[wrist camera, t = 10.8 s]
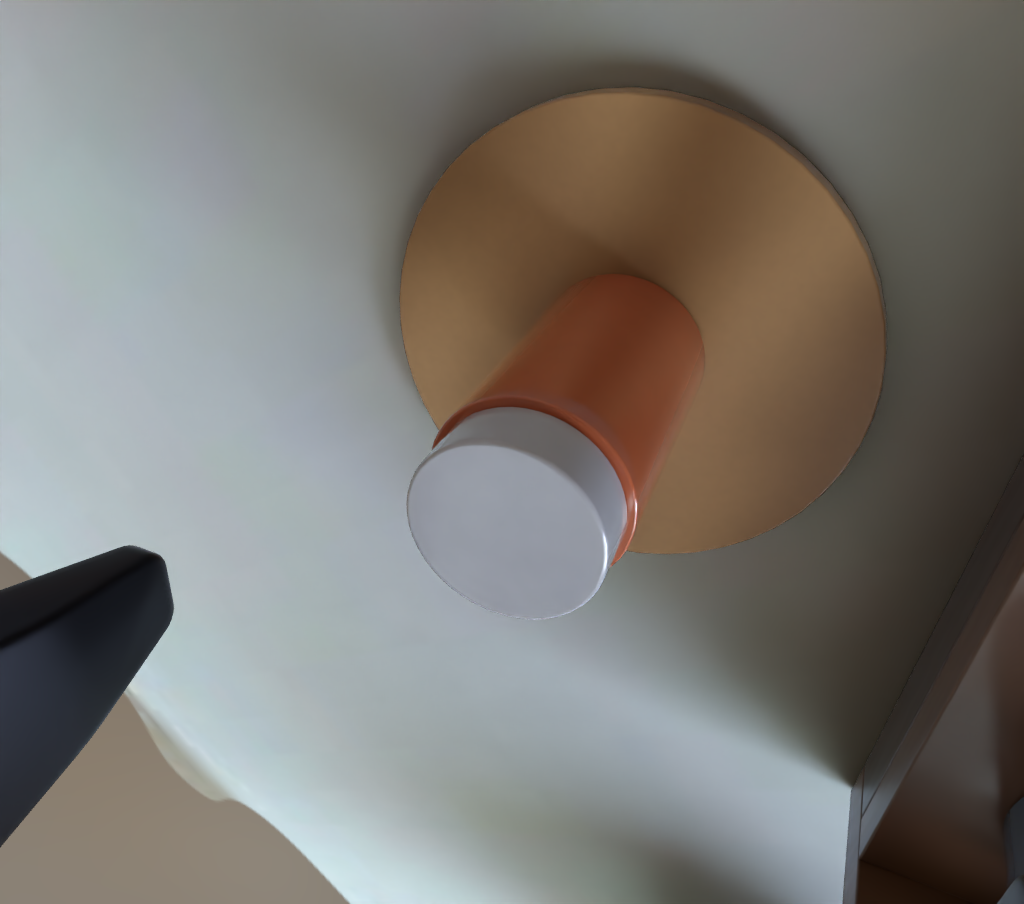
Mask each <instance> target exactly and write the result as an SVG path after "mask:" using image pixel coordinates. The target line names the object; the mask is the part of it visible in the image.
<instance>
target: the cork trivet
mask: <svg viewBox="0 0 1024 904" xmlns="http://www.w3.org/2000/svg"><path fill="white" fill-rule="evenodd" d="M605 274H623V275H629V276H635V277H638V278H641V279H645V280H647V281H649V282H652V283H654V284H656V285H658V286H659V287H661V288H663V289H664V290H666V291H667V292H669V293H670V294H671V295H673V296H674V297H675V298H676V299H677V300H678V301H679V302H680V303H681V304H682V305H683V306H684V307H685V308H686V310H687V311H688V312H689V314H690V315H691V316H692V318H693V320H694V322H695V323H696V325H697V327H698V330H699V332H700V334H701V337H702V341H703V345H704V351H705V371H704V377H703V380H702V384H701V387H700V389H699V391H698V394H697V396H696V398H695V400H694V403H693V405H692V407H691V409H690V412H689V414H688V416H687V418H686V421H685V423H684V425H683V427H682V430H681V432H680V434H679V436H678V439H677V441H676V443H675V445H674V448H673V450H672V452H671V454H670V457H669V459H668V461H667V463H666V466H665V468H664V470H663V472H662V475H661V477H660V479H659V481H658V484H657V486H656V488H655V490H654V493H653V495H652V497H651V499H650V502H649V504H648V506H647V508H646V511H645V513H644V515H643V517H642V520H641V522H640V524H639V526H638V529H637V531H636V533H635V535H634V538H633V540H632V542H631V544H630V545H629V547H628V549H627V550H626V551H631V552H638V553H654V554H678V553H694V552H700V551H706V550H712V549H717V548H723V547H726V546H729V545H733V544H736V543H739V542H742V541H746V540H749V539H751V538H754V537H756V536H758V535H760V534H763V533H765V532H767V531H769V530H772V529H774V528H776V527H778V526H779V525H781V524H782V523H784V522H786V521H787V520H789V519H791V518H792V517H794V516H795V515H797V514H799V513H800V512H802V511H803V510H804V509H805V508H806V507H808V506H809V505H810V504H811V503H813V502H814V501H815V500H816V499H817V498H819V497H820V496H821V495H822V494H823V493H824V492H825V491H826V490H827V489H828V488H829V487H830V486H831V485H832V484H833V482H834V481H835V480H836V479H837V478H838V477H839V476H840V475H841V474H842V473H843V471H844V470H845V468H846V467H847V465H848V464H849V462H850V461H851V459H852V458H853V456H854V455H855V453H856V452H857V451H858V449H859V448H860V446H861V444H862V441H863V439H864V437H865V435H866V433H867V431H868V429H869V427H870V425H871V422H872V420H873V418H874V414H875V411H876V407H877V404H878V401H879V397H880V394H881V391H882V385H883V378H884V370H885V363H886V354H887V322H886V309H885V303H884V297H883V292H882V286H881V280H880V277H879V274H878V271H877V268H876V265H875V262H874V259H873V256H872V253H871V250H870V247H869V245H868V243H867V241H866V239H865V237H864V235H863V233H862V231H861V229H860V228H859V226H858V224H857V222H856V220H855V218H854V216H853V214H852V212H851V211H850V210H849V208H848V207H847V205H846V204H845V203H844V201H843V200H842V198H841V197H840V196H839V194H838V193H837V191H836V190H835V189H834V187H833V186H832V184H831V183H830V182H829V181H828V180H827V179H826V178H825V177H824V176H823V175H822V174H821V173H820V172H819V171H818V170H817V169H816V168H815V166H814V165H813V164H812V163H811V162H810V161H809V160H808V159H807V158H806V157H805V156H804V155H802V154H801V153H800V152H799V151H797V150H796V149H795V148H794V147H792V146H791V145H790V144H788V143H787V142H786V141H785V140H783V139H782V138H781V137H779V136H778V135H777V134H776V133H774V132H772V131H771V130H769V129H767V128H766V127H764V126H762V125H760V124H759V123H757V122H755V121H753V120H752V119H750V118H748V117H746V116H745V115H743V114H741V113H739V112H736V111H734V110H731V109H729V108H726V107H724V106H721V105H719V104H716V103H714V102H711V101H709V100H706V99H702V98H698V97H694V96H690V95H686V94H682V93H678V92H674V91H668V90H658V89H648V88H638V87H624V88H601V89H594V90H589V91H584V92H578V93H573V94H568V95H564V96H561V97H558V98H555V99H552V100H549V101H546V102H544V103H541V104H538V105H535V106H533V107H531V108H529V109H527V110H525V111H523V112H521V113H519V114H517V115H515V116H513V117H512V118H510V119H508V120H506V121H504V122H502V123H500V124H499V125H497V126H495V127H494V128H492V129H491V130H490V131H488V132H487V133H486V134H484V135H483V136H482V137H480V138H479V139H478V140H476V141H475V142H473V143H472V144H471V145H470V146H469V147H468V148H467V149H466V150H465V151H464V152H463V153H462V154H461V155H460V156H459V157H458V158H457V159H456V160H455V161H454V162H453V163H452V164H451V165H450V166H449V167H448V168H447V169H446V171H445V172H444V174H443V175H442V176H441V178H440V179H439V180H438V182H437V183H436V184H435V186H434V187H433V188H432V190H431V191H430V193H429V195H428V197H427V199H426V201H425V203H424V204H423V206H422V208H421V210H420V212H419V214H418V216H417V218H416V221H415V224H414V227H413V229H412V232H411V235H410V238H409V240H408V244H407V248H406V253H405V258H404V262H403V267H402V273H401V286H400V319H401V330H402V335H403V341H404V347H405V353H406V356H407V359H408V363H409V366H410V370H411V373H412V376H413V379H414V382H415V384H416V386H417V389H418V391H419V394H420V396H421V398H422V401H423V403H424V405H425V407H426V409H427V410H428V412H429V414H430V416H431V417H432V419H433V421H434V423H435V425H436V426H437V428H438V429H439V430H440V429H441V427H442V426H443V424H444V423H445V422H446V420H447V419H448V418H449V417H450V416H451V415H452V414H453V413H454V412H455V410H456V409H457V408H458V407H459V406H460V405H461V404H462V403H463V402H464V400H465V399H466V398H467V397H468V396H469V395H470V394H471V393H472V392H473V390H474V389H475V388H476V387H477V386H478V385H479V384H480V383H481V382H482V380H483V379H484V378H485V377H486V376H487V375H488V374H489V373H490V371H491V370H492V369H493V368H494V367H495V366H496V365H497V364H498V363H499V361H500V360H501V359H502V358H503V357H504V356H505V355H506V354H507V353H508V351H509V350H510V349H511V348H512V347H513V346H514V345H515V344H516V343H517V341H518V340H519V339H520V338H521V337H522V336H523V335H524V334H525V333H526V331H527V330H528V329H529V328H530V327H531V326H532V325H533V324H534V323H535V321H536V320H537V319H538V318H539V317H540V316H541V315H542V314H543V313H544V311H545V310H546V309H547V308H548V307H549V306H550V305H551V304H552V303H553V301H554V300H555V299H556V298H557V297H558V296H559V295H560V294H561V293H562V292H563V291H565V290H566V289H567V288H569V287H570V286H572V285H573V284H575V283H577V282H579V281H581V280H584V279H586V278H589V277H593V276H598V275H605Z"/></svg>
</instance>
